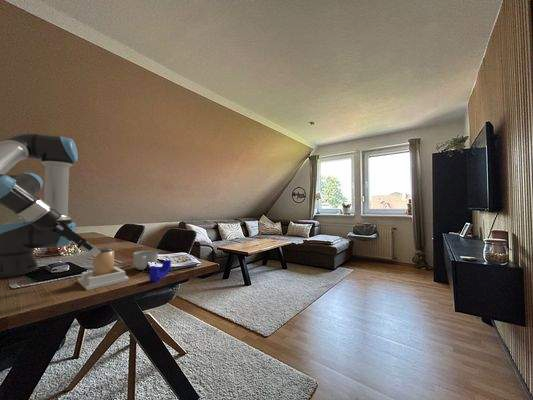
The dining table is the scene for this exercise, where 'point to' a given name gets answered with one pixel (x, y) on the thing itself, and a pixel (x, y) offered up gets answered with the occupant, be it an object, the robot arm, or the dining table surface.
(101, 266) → the tan cylindrical piece
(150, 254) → the teacup
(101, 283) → the holder
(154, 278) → the cable clip
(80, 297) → the dining table surface
